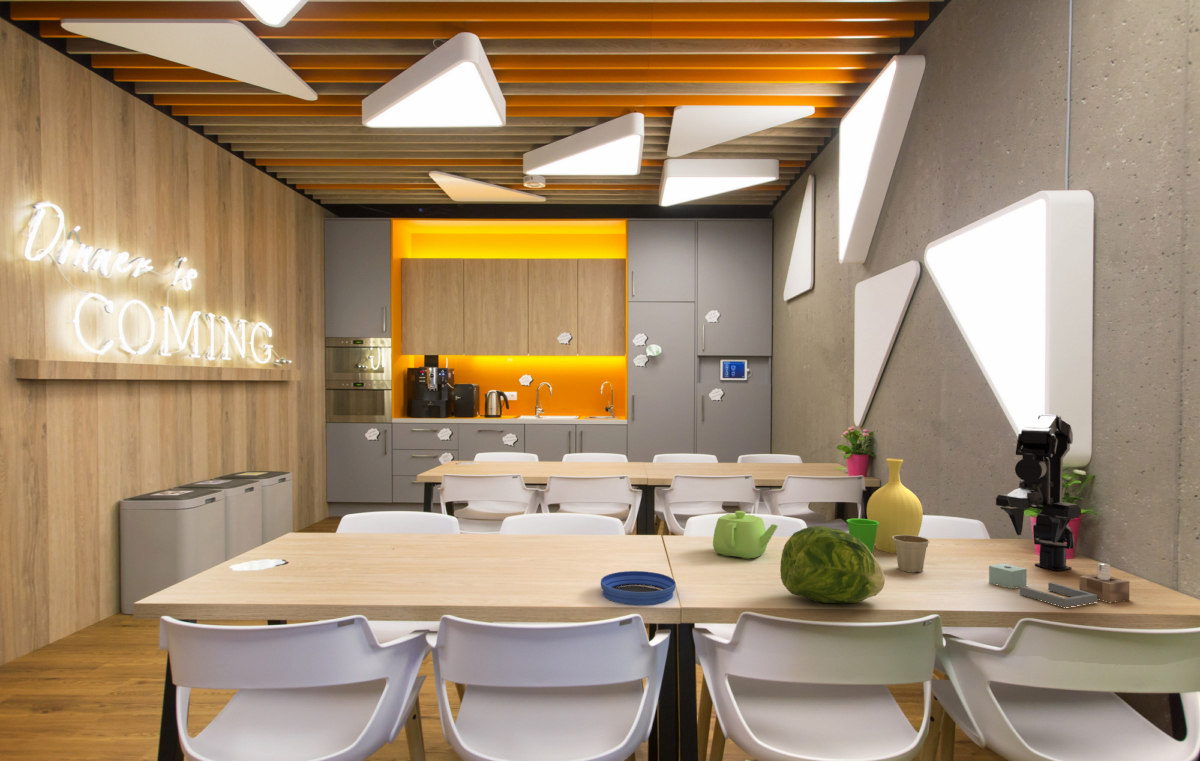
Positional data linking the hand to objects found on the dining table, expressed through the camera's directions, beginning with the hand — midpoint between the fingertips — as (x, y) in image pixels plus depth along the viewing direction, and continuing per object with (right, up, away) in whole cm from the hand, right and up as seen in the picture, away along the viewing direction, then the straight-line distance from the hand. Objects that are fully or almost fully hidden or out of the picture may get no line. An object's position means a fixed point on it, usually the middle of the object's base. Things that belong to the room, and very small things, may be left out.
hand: (1036, 538), depth 173 cm
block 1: (-7, -12, +1) cm, 14 cm away
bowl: (-102, -12, -9) cm, 104 cm away
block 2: (+10, -12, -9) cm, 18 cm away
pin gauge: (+10, -12, -9) cm, 18 cm away
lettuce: (-57, -12, -13) cm, 60 cm away
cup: (-35, -12, +26) cm, 45 cm away
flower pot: (-26, -12, +14) cm, 32 cm away
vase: (-20, -12, +38) cm, 45 cm away
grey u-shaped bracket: (-2, -12, -11) cm, 16 cm away
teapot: (-68, -12, +29) cm, 75 cm away
